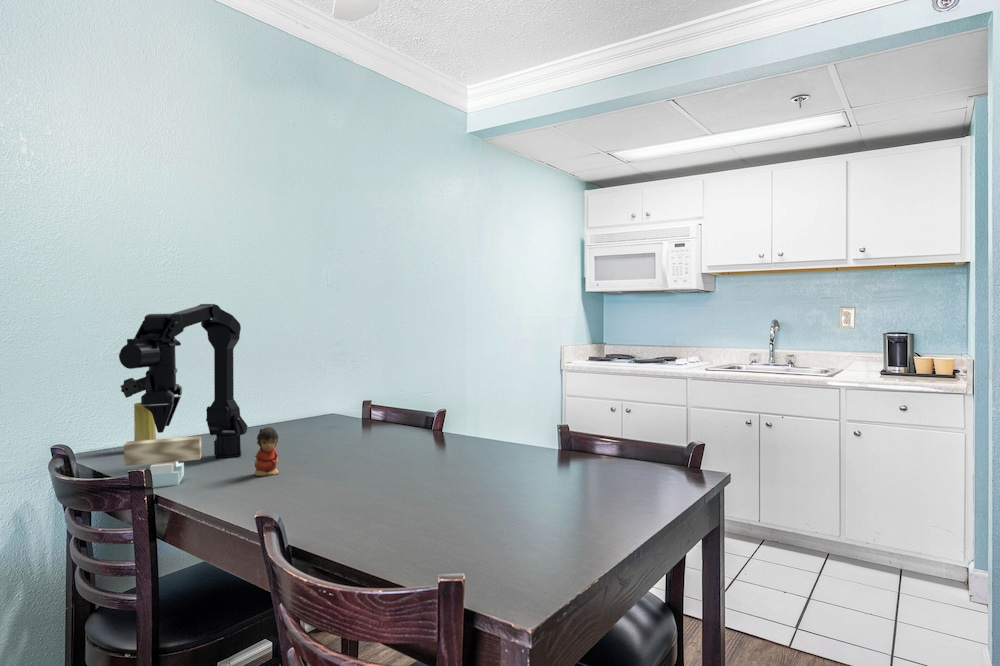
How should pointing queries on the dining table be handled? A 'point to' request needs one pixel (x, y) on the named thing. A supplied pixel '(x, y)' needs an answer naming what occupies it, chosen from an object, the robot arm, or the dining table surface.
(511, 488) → the dining table surface
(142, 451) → the beam
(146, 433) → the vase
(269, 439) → the figurine
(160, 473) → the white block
